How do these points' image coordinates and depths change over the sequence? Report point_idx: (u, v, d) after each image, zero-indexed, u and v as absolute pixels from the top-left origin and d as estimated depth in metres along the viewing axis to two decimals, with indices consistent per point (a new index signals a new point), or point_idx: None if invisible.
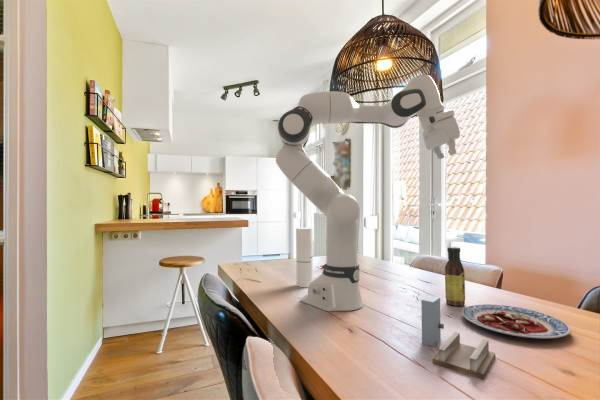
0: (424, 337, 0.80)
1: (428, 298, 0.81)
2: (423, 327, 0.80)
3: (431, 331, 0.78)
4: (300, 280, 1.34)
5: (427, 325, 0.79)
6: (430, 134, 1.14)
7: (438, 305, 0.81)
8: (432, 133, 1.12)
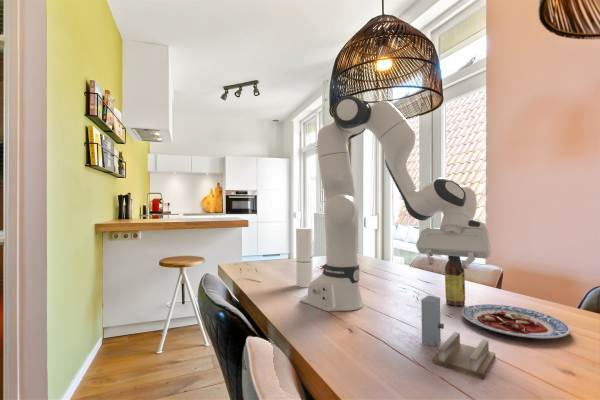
0: (424, 337, 0.80)
1: (428, 298, 0.81)
2: (423, 327, 0.80)
3: (431, 331, 0.78)
4: (300, 280, 1.34)
5: (426, 325, 0.79)
6: (441, 236, 0.97)
7: (438, 305, 0.81)
8: (447, 236, 0.96)
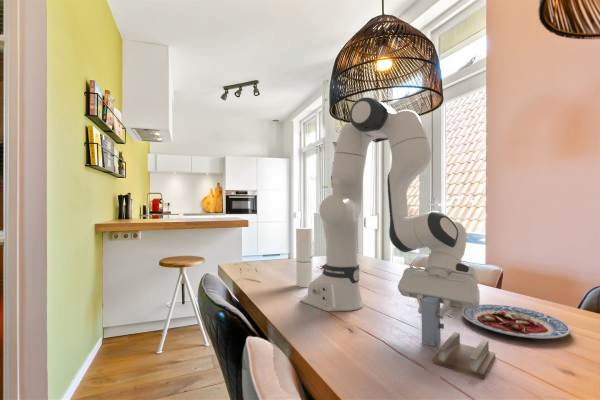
0: (424, 337, 0.80)
1: (428, 298, 0.81)
2: (423, 327, 0.80)
3: (431, 331, 0.78)
4: (300, 280, 1.34)
5: (426, 324, 0.79)
6: (425, 278, 0.87)
7: (438, 305, 0.81)
8: (432, 279, 0.86)
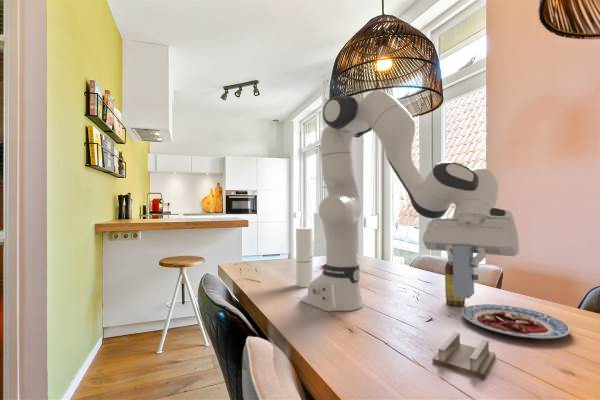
0: (456, 289, 0.70)
1: (459, 246, 0.72)
2: (455, 278, 0.70)
3: (464, 281, 0.69)
4: (300, 280, 1.34)
5: (459, 275, 0.70)
6: (454, 228, 0.77)
7: (471, 253, 0.71)
8: (462, 228, 0.76)
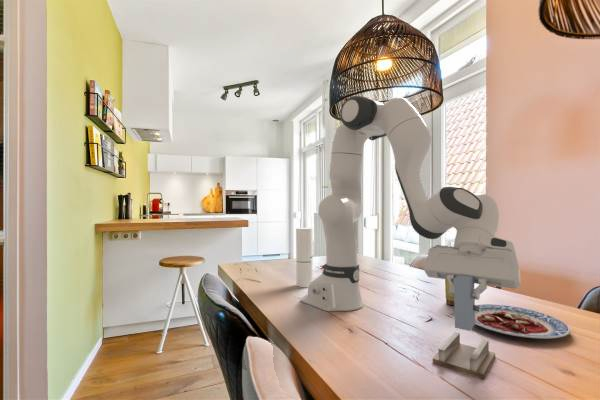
0: (457, 321, 0.70)
1: (460, 277, 0.71)
2: (456, 309, 0.70)
3: (465, 313, 0.69)
4: (300, 280, 1.34)
5: (460, 306, 0.70)
6: (455, 256, 0.77)
7: (472, 284, 0.71)
8: (463, 257, 0.76)
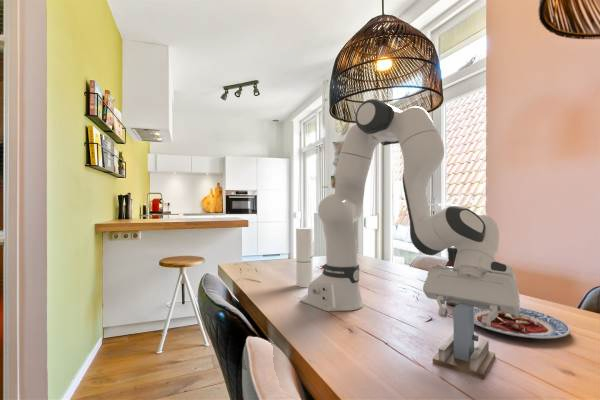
0: (457, 351, 0.70)
1: (460, 306, 0.71)
2: (455, 339, 0.70)
3: (465, 344, 0.69)
4: (300, 280, 1.34)
5: (460, 337, 0.69)
6: (455, 278, 0.77)
7: (472, 314, 0.71)
8: (463, 280, 0.76)
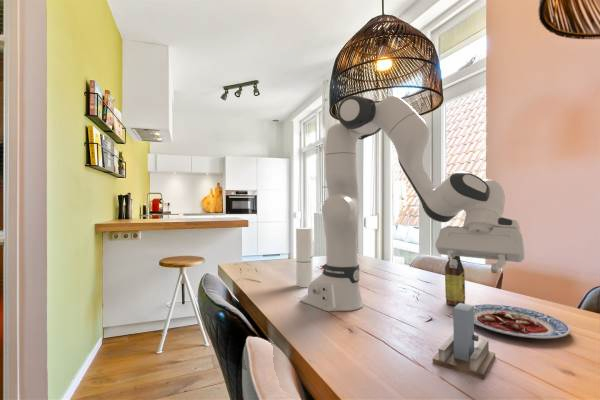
0: (457, 351, 0.70)
1: (460, 306, 0.71)
2: (455, 339, 0.70)
3: (465, 344, 0.69)
4: (300, 280, 1.34)
5: (460, 337, 0.69)
6: (465, 235, 0.85)
7: (472, 314, 0.71)
8: (472, 235, 0.84)
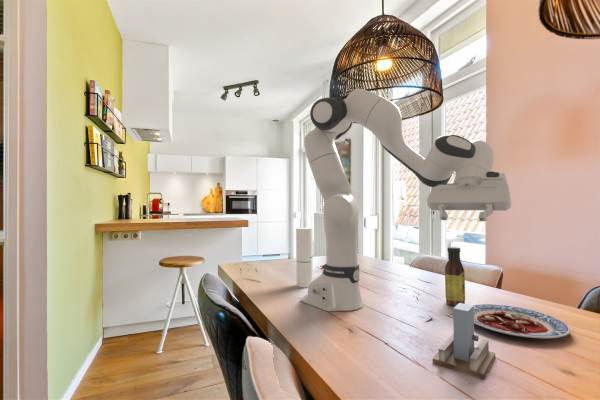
0: (457, 351, 0.70)
1: (460, 306, 0.71)
2: (455, 339, 0.70)
3: (465, 344, 0.69)
4: (300, 280, 1.34)
5: (460, 337, 0.69)
6: (455, 190, 0.88)
7: (472, 314, 0.71)
8: (462, 190, 0.87)
